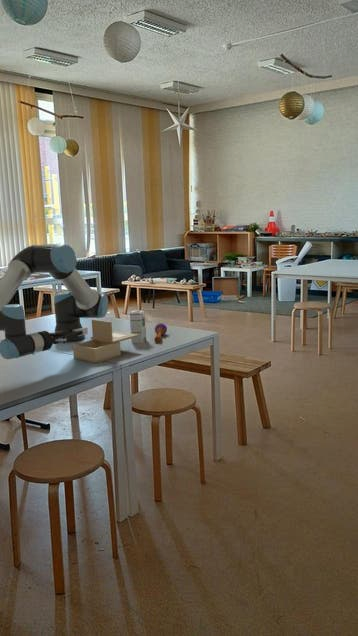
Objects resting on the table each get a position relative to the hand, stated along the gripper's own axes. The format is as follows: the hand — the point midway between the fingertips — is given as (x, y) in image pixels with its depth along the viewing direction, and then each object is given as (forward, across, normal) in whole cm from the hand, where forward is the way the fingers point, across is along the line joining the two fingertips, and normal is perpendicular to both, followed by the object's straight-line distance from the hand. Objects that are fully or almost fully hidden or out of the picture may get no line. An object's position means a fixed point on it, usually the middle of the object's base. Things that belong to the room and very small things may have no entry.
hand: (86, 330), depth 235 cm
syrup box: (+36, -6, -13) cm, 38 cm away
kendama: (+46, -2, -13) cm, 48 cm away
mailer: (+6, -1, -13) cm, 14 cm away
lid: (+16, -1, -6) cm, 17 cm away
